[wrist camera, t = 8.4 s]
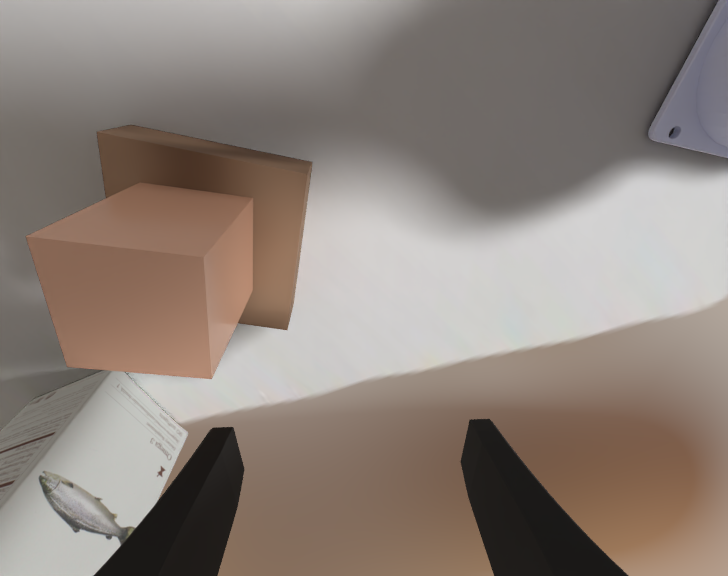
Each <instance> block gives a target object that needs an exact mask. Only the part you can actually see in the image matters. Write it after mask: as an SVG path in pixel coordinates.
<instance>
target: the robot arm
mask: <svg viewBox="0 0 728 576" xmlns="http://www.w3.org/2000/svg"><path fill="white" fill-rule="evenodd" d="M672 128H674V132H673V134H672V135H671V136H669V132H670V130H671V129H672ZM648 136H649V138H650V139H651V140H653V141H656V142H661V143H665V144H669V145H673V146H678V147H682V148H686V149H690V150H695V151H699V152H703V153H708V154H712V155H716V156H720V157H725V158H728V0H718V2H717V4H716V6H715V8H714V10H713V12H712V13H711V15H710V17H709V19H708V21H707V23H706V25H705V26H704V28H703V30H702V32H701V34H700V36H699V37H698V39H697V41H696V43H695V45H694V47H693V49H692V50H691V52H690V54H689V56H688V58H687V60H686V61H685V63H684V65H683V67H682V69H681V71H680V73H679V74H678V76H677V78H676V80H675V82H674V84H673V86H672V87H671V89H670V91H669V93H668V95H667V97H666V98H665V100H664V102H663V104H662V106H661V108H660V110H659V111H658V113H657V115H656V117H655V119H654V121H653V122H652V124H651V126H650V128H649V131H648ZM461 465H462V470H463V475H464V479H465V484H466V489H467V493H468V497H469V500H470V503H471V507H472V510H473V513H474V516H475V519H476V522H477V525H478V528H479V531H480V534H481V537H482V540H483V543H484V546H485V549H486V552H487V555H488V558H489V561H490V564H491V567H492V570H493V573H494V576H628V575H627V574H626V573H625V572H624V571H623V570H622V569H621V568H620V567H619V566H618V565H616V564H615V562H613V561H612V560H611V559H610V558H609V557H608V556H607V555H606V554H605V553H604V552H603V551H602V550H601V549H600V548H599V547H598V546H597V545H596V544H595V543H594V542H593V541H592V540H591V539H590V538H589V537H588V536H587V534H586V533H585V532H584V531H583V530H582V529H581V528H580V527H579V526H578V525H577V524H576V523H575V522H574V521H573V520H572V519H571V517H570V516H569V515H568V514H567V513H566V512H565V511H564V510H563V509H562V508H561V506H560V505H559V504H558V503H557V502H556V501H555V500H554V498H553V497H552V496H551V495H550V494H549V493H548V492H547V490H546V489H545V488H544V487H543V486H542V484H541V483H540V482H539V481H538V480H537V479H536V477H535V476H534V475H533V474H532V473H531V471H530V470H529V469H528V468H527V466H526V465H525V464H524V463H523V461H522V460H521V459H520V458H519V456H518V455H517V454H516V452H515V451H514V450H513V449H512V447H511V446H510V445H509V444H508V442H507V441H506V440H505V438H504V437H503V436H502V434H501V433H500V432H499V430H498V429H497V428H496V426H495V425H494V424H493V422H492V421H491V420H490V419H477V420H475V419H474V420H470V421H469V426H468V431H467V435H466V440H465V444H464V449H463V453H462V458H461ZM243 474H244V466H243V462H242V458H241V455H240V451H239V447H238V443H237V439H236V436H235V432H234V428H233V427H222V428H212V429H211V430H210V431H209V433H208V434H207V435H206V437H205V438H204V440H203V441H202V443H201V444H200V445H199V447H198V448H197V450H196V451H195V452H194V454H193V455H192V457H191V458H190V459H189V461H188V462H187V463H186V465H185V466H184V467H183V469H182V470H181V472H180V473H179V474H178V476H177V477H176V479H175V480H174V481H173V482H172V484H171V485H170V486H169V487H168V489H167V490H166V492H165V493H164V494H163V495H162V497H161V498H160V499H159V500H158V502H157V503H156V504H155V505H154V507H153V508H152V509H151V510H150V511H149V513H148V514H147V515H146V516H145V517H144V519H143V520H142V521H141V522H140V523H139V525H138V526H137V527H136V528H135V529H134V531H133V532H132V533H131V534H130V536H129V537H128V538H127V539H126V540H125V541H124V542H123V544H122V545H121V546H120V547H119V548H118V549H117V550H116V552H115V553H114V554H113V555H112V556H111V557H110V558H109V559H108V560H107V562H106V563H105V564H104V565H103V566H102V567H101V568H100V569H99V570H98V571H97V572H96V573H95V575H94V576H217V575H218V572H219V568H220V565H221V562H222V558H223V554H224V551H225V548H226V545H227V541H228V538H229V534H230V531H231V527H232V524H233V521H234V517H235V514H236V510H237V507H238V502H239V496H240V491H241V485H242V480H243Z"/></svg>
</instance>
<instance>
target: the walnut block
mask: <svg viewBox="0 0 728 576" xmlns="http://www.w3.org/2000/svg"><path fill="white" fill-rule="evenodd" d="M97 138H98V145H99V152H100V159H101V166H102V174H103V181H104V188H105V195H106V198H108V197H110V196H112V195H114V194H116V193H119V192H121V191H123V190H125V189H127V188H129V187H131V186H133V185H136V184H138V183H140V182H141V183H148V184H156V185H163V186H170V187H177V188H185V189H192V190H199V191H207V192H214V193H221V194H229V195H236V196H243V197H251V198H253V291H252V293H251V295H250V297H249V300H248V302H247V304H246V306H245V308H244V310H243V313H242V315H241V317H240V319H239V321H238V323H240V324H247V325H255V326H262V327H269V328H276V329H283V330H287V329H288V325H289V321H290V317H291V312H292V308H293V304H294V297H295V289H296V282H297V274H298V267H299V260H300V252H301V245H302V237H303V230H304V222H305V215H306V207H307V200H308V192H309V185H310V177H311V170H312V162H309V161H304V160H300V159H295V158H290V157H285V156H280V155H275V154H270V153H265V152H261V151H256V150H251V149H246V148H241V147H236V146H231V145H227V144H222V143H217V142H212V141H207V140H202V139H197V138H193V137H188V136H183V135H178V134H173V133H168V132H163V131H159V130H154V129H149V128H144V127H139V126H134V125H127V126H123V127H118V128H113V129H108V130H103V131H98V132H97Z"/></svg>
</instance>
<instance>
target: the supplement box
mask: <svg viewBox="0 0 728 576" xmlns="http://www.w3.org/2000/svg"><path fill="white" fill-rule="evenodd" d="M187 435H188V432H187V431H186V430H185V429H183V428H182V427H181V426H180V425H178V424H177V423H176V422H175V421H174V420H173V419H172V418H171V417H170V416H169V415H168V414H166V413H165V412H164V411H163V410H162V409H161V408H160V407H159V406H158V405H157V404H156V403H155V402H154V401H153V400H152V399H151V398H150V397H149V396H148V395H147V394H146V393H145V392H144V391H143V390H142V389H141V388H140V387H139V386H138V385H137V384H136V383H135V382H134V381H133V380H132V379H131V378H130V377H129V376H128V375H127V374H126V373H125V372H121V371H109V370H103V371H100V372H98V373H96V374H93V375H91V376H88V377H86V378H83V379H81V380H78V381H76V382H74V383H71V384H69V385H66V386H64V387H61V388H59V389H56V390H54V391H52V392H49V393H47V394H45V395H42V396H40V397H37V398H35V399H33V400H32V401H31V402H30V403H29V404H27V405H26V406H25V407H24V408H23V409H22V410H21V411H20V412H19V413H18V414H17V415H16V416H15V417H14V418H13V419H12V420H11V421H10V422H9V423H8V424H7V425H6V426H5V427H4V428H3V429H2V430H1V431H0V576H94V575H95V573H96V572H97V571H98V570H99V569H100V568H101V567H102V566H103V565H104V564H105V563H106V562H107V560H108V559H109V558H110V557H111V556H112V555H113V554H114V553H115V552H116V550H117V549H118V548H119V547H120V546H121V545H122V544H123V542H124V541H125V540H126V539H127V538H128V537H129V536H130V534H131V533H132V532H133V531H134V529H135V528H136V527H137V526H138V525H139V523H140V522H141V521H142V520H143V519H144V517H145V516H146V515H147V514H148V513H149V511H150V510H151V509H152V508H153V507H154V505H155V504H156V503H157V501H158V498H159V496H160V494H161V492H162V490H163V488H164V485H165V483H166V481H167V479H168V477H169V475H170V473H171V470H172V468H173V466H174V464H175V462H176V459H177V457H178V455H179V453H180V450H181V448H182V446H183V444H184V442H185V440H186V438H187Z"/></svg>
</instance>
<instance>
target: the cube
mask: <svg viewBox="0 0 728 576" xmlns="http://www.w3.org/2000/svg"><path fill="white" fill-rule="evenodd" d="M26 239H27V242H28V246H29V249H30V252H31V255H32V258H33V261H34V264H35V268H36V271H37V274H38V277H39V280H40V283H41V286H42V290H43V293H44V296H45V299H46V302H47V305H48V308H49V312H50V315H51V318H52V321H53V324H54V327H55V330H56V334H57V337H58V340H59V343H60V346H61V349H62V352H63V356H64V359H65V362H66V365H67V367H73V368H85V369H97V370H109V371H121V372H133V373H145V374H157V375H169V376H181V377H193V378H205V379H212V377H213V375H214V373H215V371H216V369H217V367H218V364H219V362H220V360H221V358H222V356H223V354H224V351H225V349H226V347H227V345H228V343H229V341H230V338H231V336H232V334H233V332H234V330H235V328H236V325H237V323H238V321H239V319H240V317H241V315H242V313H243V310H244V308H245V306H246V304H247V302H248V300H249V297H250V295H251V293H252V291H253V198H251V197H243V196H236V195H229V194H221V193H214V192H207V191H199V190H192V189H185V188H177V187H170V186H163V185H156V184H148V183H141V182H140V183H138V184H136V185H133V186H131V187H129V188H127V189H125V190H123V191H121V192H119V193H116V194H114V195H112V196H110V197H108V198H106V199H104V200H102V201H100V202H97V203H95V204H93V205H91V206H89V207H87V208H85V209H83V210H80V211H78V212H76V213H74V214H72V215H70V216H68V217H66V218H63V219H61V220H59V221H57V222H55V223H53V224H51V225H49V226H46V227H44V228H42V229H40V230H38V231H36V232H34V233H32V234H29V235H27V236H26Z"/></svg>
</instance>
